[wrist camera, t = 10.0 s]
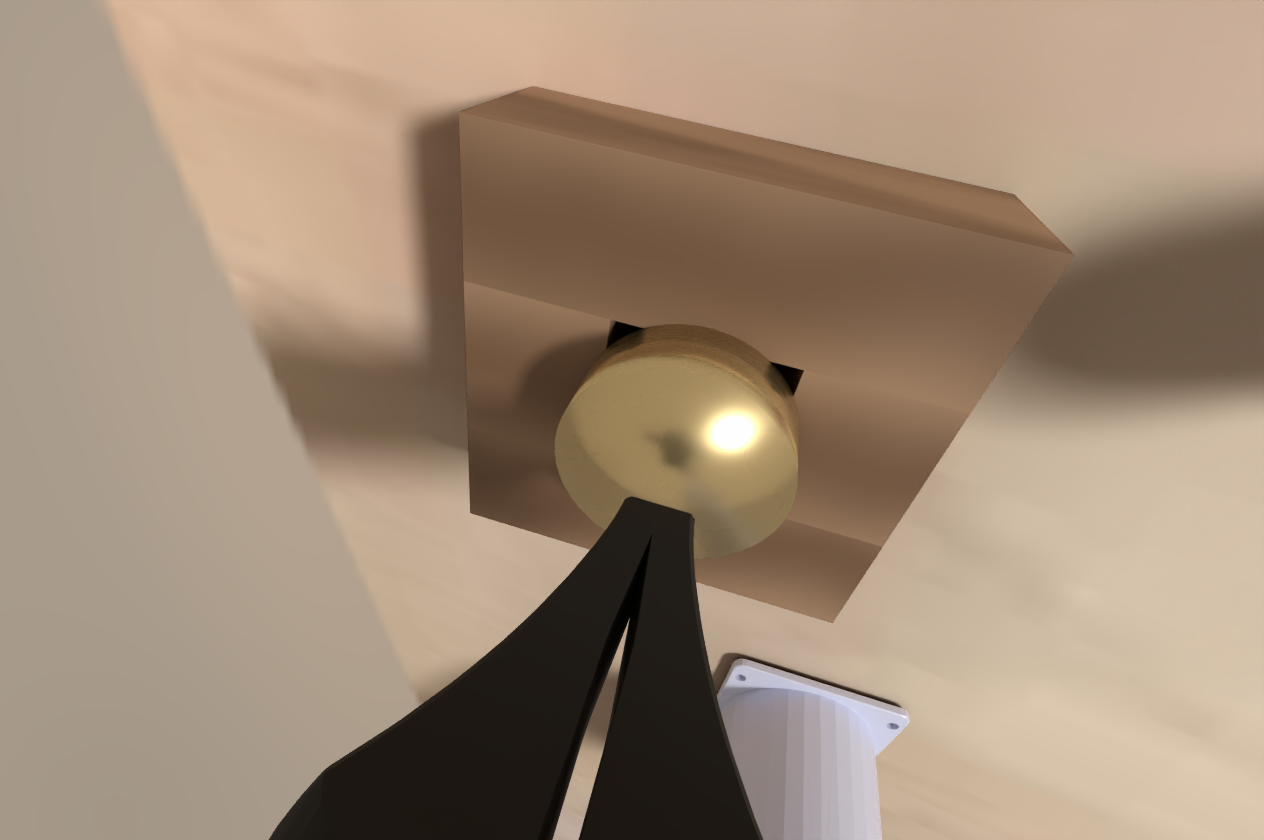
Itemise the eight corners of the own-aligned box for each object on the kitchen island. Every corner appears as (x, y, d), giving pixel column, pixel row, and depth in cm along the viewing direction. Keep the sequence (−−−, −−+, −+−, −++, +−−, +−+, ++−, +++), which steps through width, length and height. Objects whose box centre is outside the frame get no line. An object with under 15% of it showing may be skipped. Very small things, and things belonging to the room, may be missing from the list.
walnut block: (829, 529, 21) (832, 623, 18) (518, 439, 22) (470, 513, 19) (1014, 194, 14) (1074, 254, 11) (532, 86, 15) (458, 112, 12)
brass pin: (766, 441, 20) (752, 584, 15) (607, 394, 20) (545, 518, 15) (831, 291, 16) (839, 415, 11) (636, 238, 16) (567, 336, 12)
